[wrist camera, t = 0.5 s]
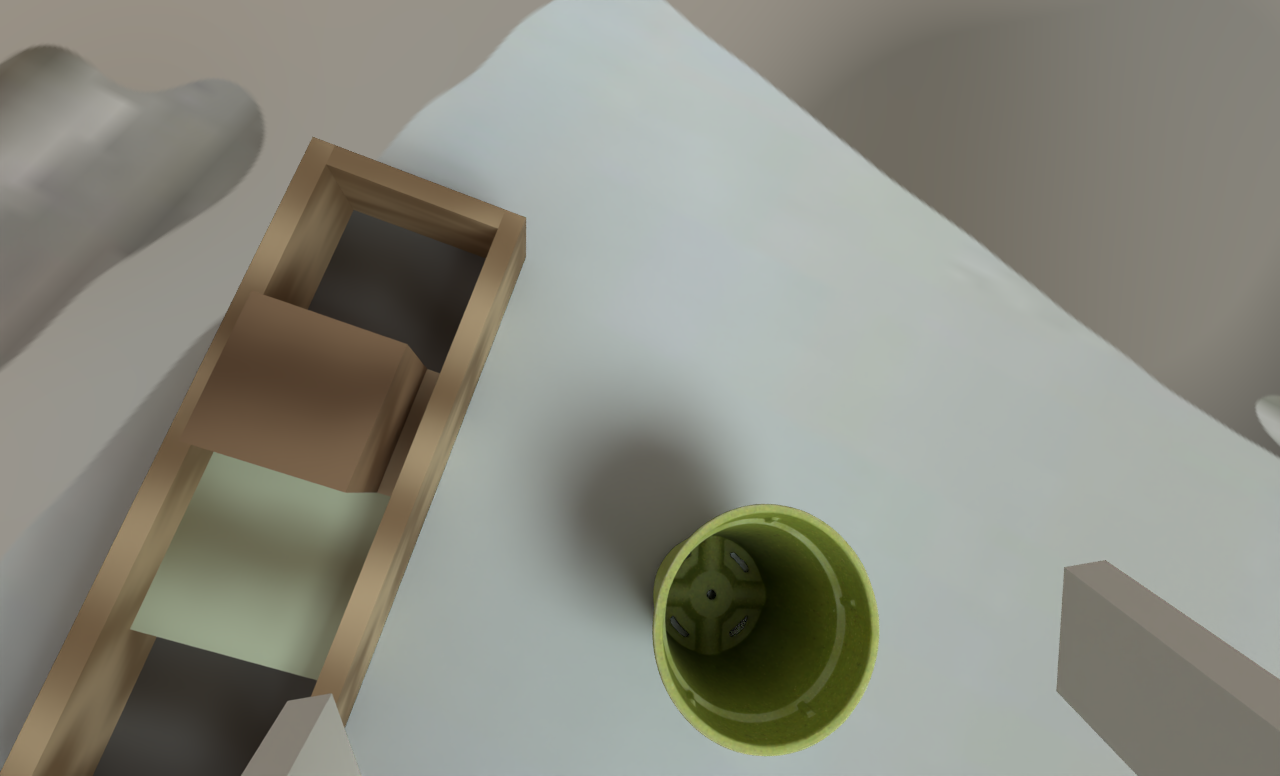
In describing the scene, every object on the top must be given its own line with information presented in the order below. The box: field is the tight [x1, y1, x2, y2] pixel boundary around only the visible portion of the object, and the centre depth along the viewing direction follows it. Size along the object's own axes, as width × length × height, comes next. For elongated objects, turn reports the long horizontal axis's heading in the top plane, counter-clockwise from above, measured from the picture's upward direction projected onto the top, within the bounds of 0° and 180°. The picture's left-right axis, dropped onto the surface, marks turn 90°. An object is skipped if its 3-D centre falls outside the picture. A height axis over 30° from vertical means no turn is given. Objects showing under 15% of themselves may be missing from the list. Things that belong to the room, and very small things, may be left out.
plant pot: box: [653, 504, 879, 756], centre depth 28 cm, size 9×9×9 cm
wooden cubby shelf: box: [0, 137, 526, 776], centre depth 27 cm, size 30×10×5 cm, turn 162°
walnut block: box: [179, 291, 427, 493], centre depth 25 cm, size 6×6×5 cm
